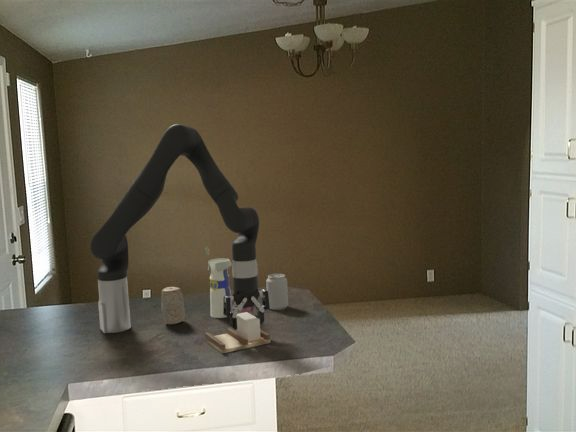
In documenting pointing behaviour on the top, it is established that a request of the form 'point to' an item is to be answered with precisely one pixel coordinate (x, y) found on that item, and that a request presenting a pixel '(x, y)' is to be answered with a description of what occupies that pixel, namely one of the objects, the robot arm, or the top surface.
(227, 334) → the slot rack
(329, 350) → the top surface
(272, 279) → the can
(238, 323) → the plug block
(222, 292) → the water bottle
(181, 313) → the carving
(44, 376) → the top surface
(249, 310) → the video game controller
